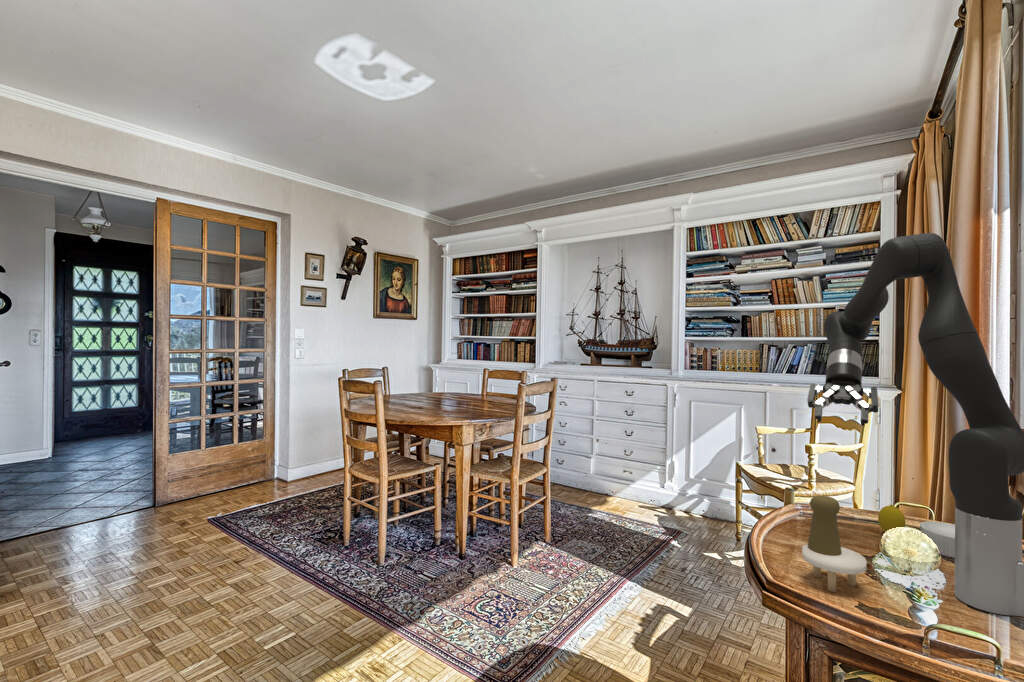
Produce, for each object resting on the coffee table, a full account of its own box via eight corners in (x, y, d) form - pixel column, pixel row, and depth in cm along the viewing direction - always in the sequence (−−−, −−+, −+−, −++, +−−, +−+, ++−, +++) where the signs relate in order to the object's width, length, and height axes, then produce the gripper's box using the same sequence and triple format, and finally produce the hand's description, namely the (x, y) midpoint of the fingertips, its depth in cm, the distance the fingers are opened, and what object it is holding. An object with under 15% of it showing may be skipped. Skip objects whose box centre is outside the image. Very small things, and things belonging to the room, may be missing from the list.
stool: (866, 581, 102) (867, 552, 102) (865, 603, 94) (865, 571, 94) (805, 566, 109) (805, 539, 109) (798, 585, 100) (798, 556, 100)
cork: (846, 557, 100) (847, 502, 100) (813, 554, 101) (813, 500, 101) (834, 545, 106) (835, 493, 106) (803, 542, 107) (803, 491, 107)
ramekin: (986, 566, 110) (986, 543, 110) (920, 553, 116) (921, 531, 116) (978, 550, 119) (978, 528, 119) (918, 538, 125) (918, 517, 125)
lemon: (903, 534, 127) (904, 503, 127) (906, 542, 123) (907, 509, 123) (877, 530, 130) (877, 499, 130) (879, 537, 126) (879, 505, 126)
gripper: (810, 360, 128) (804, 408, 119) (878, 361, 120) (878, 414, 111) (812, 379, 133) (807, 428, 123) (878, 382, 124) (878, 434, 115)
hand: (840, 421), depth 117 cm, fingers open, 8 cm apart
